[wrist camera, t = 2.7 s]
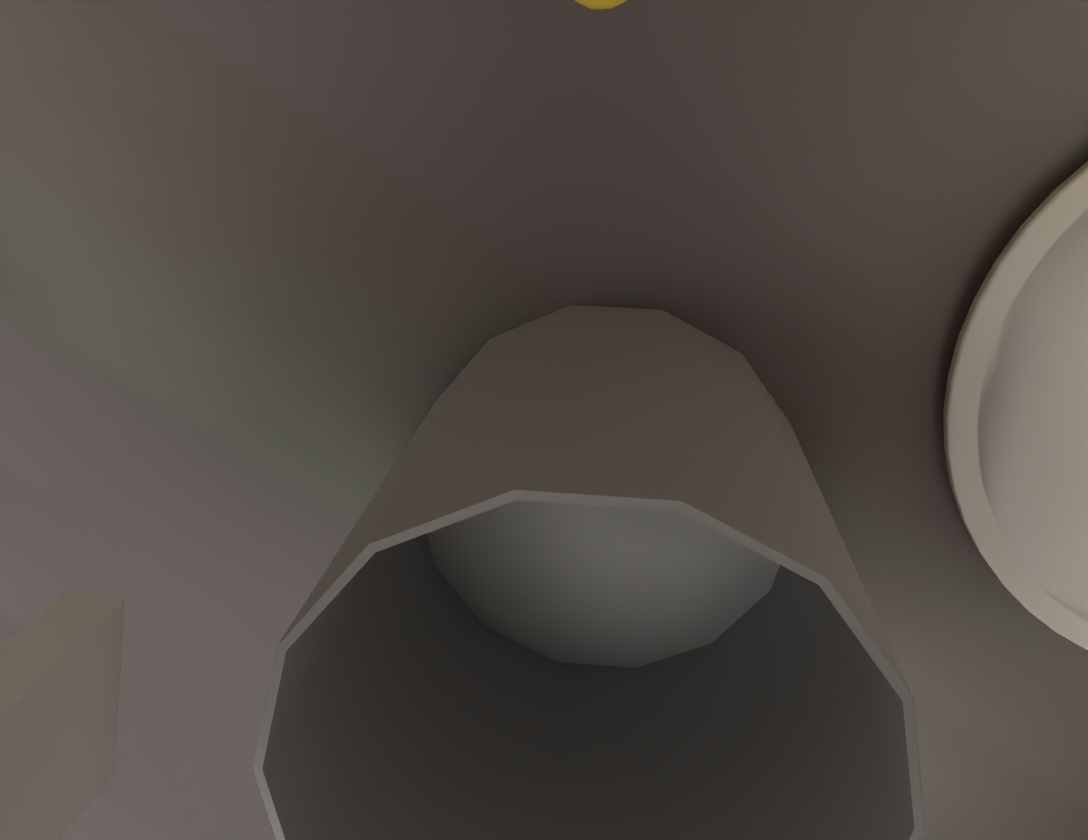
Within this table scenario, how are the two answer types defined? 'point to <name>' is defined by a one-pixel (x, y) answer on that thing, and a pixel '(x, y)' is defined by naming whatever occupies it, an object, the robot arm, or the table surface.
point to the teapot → (600, 3)
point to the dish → (1029, 413)
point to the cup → (593, 618)
